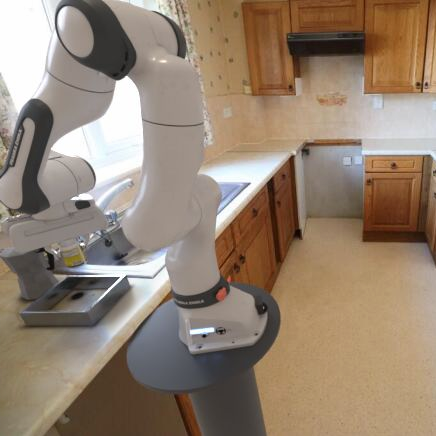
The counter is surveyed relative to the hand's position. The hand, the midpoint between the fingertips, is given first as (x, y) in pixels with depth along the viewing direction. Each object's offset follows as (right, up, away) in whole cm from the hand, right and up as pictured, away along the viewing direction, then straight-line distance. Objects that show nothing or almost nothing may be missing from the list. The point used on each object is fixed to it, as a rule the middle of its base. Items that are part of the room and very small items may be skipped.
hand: (72, 253), depth 88 cm
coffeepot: (-18, -13, +12) cm, 25 cm away
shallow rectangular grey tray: (-1, -15, +5) cm, 16 cm away
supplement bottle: (0, -3, +2) cm, 4 cm away
